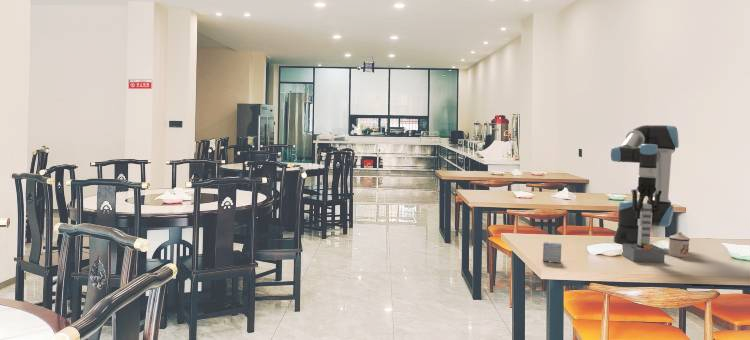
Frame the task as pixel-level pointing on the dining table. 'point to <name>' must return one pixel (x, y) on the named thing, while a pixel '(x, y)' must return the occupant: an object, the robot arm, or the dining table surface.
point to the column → (645, 225)
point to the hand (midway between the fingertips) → (644, 225)
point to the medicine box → (552, 252)
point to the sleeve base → (643, 253)
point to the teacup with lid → (678, 245)
